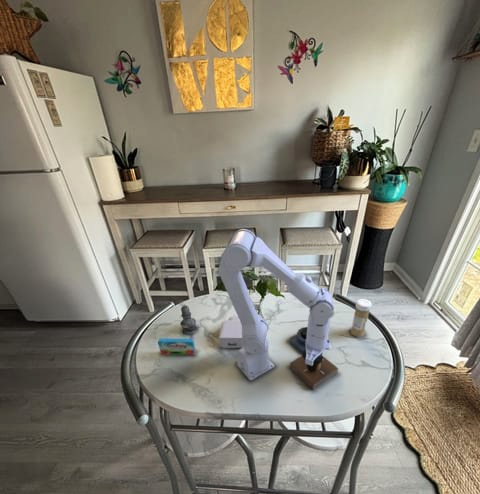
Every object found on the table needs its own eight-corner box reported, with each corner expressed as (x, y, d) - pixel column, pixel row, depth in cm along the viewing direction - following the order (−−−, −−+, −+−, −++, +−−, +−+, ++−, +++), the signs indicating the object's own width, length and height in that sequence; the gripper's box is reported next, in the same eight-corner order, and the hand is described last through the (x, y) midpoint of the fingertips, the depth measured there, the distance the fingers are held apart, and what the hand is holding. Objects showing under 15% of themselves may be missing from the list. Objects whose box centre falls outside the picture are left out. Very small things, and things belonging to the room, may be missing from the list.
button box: (304, 354, 90) (305, 347, 88) (289, 341, 95) (289, 334, 93) (325, 341, 94) (326, 334, 92) (310, 330, 100) (310, 322, 98)
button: (307, 341, 90) (308, 337, 90) (298, 334, 94) (298, 330, 93) (317, 336, 92) (317, 332, 91) (308, 329, 96) (308, 325, 95)
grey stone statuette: (200, 330, 103) (195, 305, 97) (185, 337, 101) (179, 311, 94) (193, 322, 107) (188, 297, 101) (179, 328, 105) (173, 303, 98)
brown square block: (313, 390, 78) (313, 384, 77) (289, 368, 86) (290, 362, 84) (337, 373, 83) (338, 368, 81) (313, 354, 90) (313, 348, 88)
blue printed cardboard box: (196, 352, 94) (193, 338, 91) (195, 355, 93) (192, 342, 89) (162, 351, 95) (158, 338, 92) (161, 354, 94) (157, 341, 91)
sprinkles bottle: (367, 334, 96) (374, 303, 88) (357, 339, 94) (364, 308, 87) (357, 327, 99) (363, 296, 92) (347, 331, 98) (353, 301, 90)
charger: (248, 320, 106) (246, 348, 94) (225, 320, 107) (219, 347, 95) (248, 310, 104) (245, 338, 91) (224, 310, 105) (218, 337, 92)
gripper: (326, 352, 68) (321, 387, 76) (338, 318, 79) (332, 352, 86) (298, 344, 71) (296, 378, 79) (314, 312, 82) (310, 345, 89)
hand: (313, 364), depth 82 cm, fingers closed on dial, 4 cm apart
